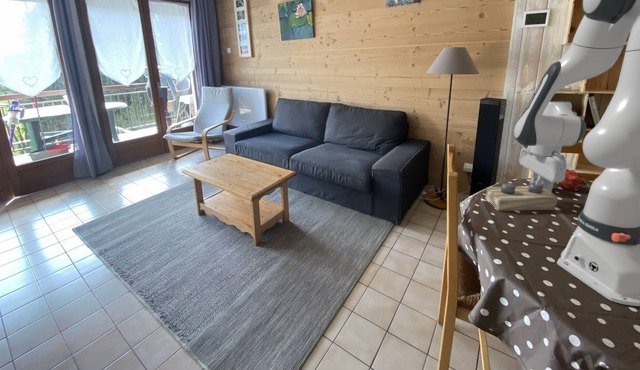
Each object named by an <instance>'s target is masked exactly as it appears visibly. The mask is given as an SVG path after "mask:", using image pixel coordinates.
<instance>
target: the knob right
mask: <svg viewBox="0 0 640 370" xmlns="http://www.w3.org/2000/svg"><path fill="white" fill-rule="evenodd" d="M528 186H529V188H528V191H530V192H533V193H542V191H543V187H544V185H541V186H536V185H534V184H533V183H530V182H529V184H528Z"/></svg>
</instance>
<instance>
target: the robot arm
mask: <svg viewBox="0 0 640 370" xmlns="http://www.w3.org/2000/svg"><path fill="white" fill-rule="evenodd" d="M581 10H582V13H583V16H582V19H581V21H580V23H579V25H578V26H577V29H576V32H575V34H574V37H573V39H572V42H571V44H570V46H569V48H568V49H567V51H566V52H565V53H564V55H563V56H562V57H560V59H559V60H558V61H556V62H554V63H552V64H550V66H548V68H547V70H546V71H545V72H544V74H543V76H542V77H541V80H540V82H539V83H538V85H537V87H536V89H535V91H534V92H533V94H532V96H531V98H530V100H529V102H528V104H527V105H526V108H524V109H525V110H523V112H522V114H521V115H520V116H519V118H518V120H517V122H516V124H515V126H514V129H513V138H514V139H515V140H516V141H517V142H518V143H519V144H520V145H521V147H522V148H521V150H520V154H519V158H518V160H519V161H518V163H519V164H520V166H522V167H524V168H525V169H528V170H529V171H531V172H530V173H531V175H532V183H533V184H534V185H536V186H541V185H542V182H543V181H544V180H545V179H547V180H549V181H551V182H554V183H558V182H562V181H563V180H564V179H565V174H566V169H567V167H568V166H567V159H566V157H565V155H563V154H561V152H562V148H563V147H571V146H575V145H577V144H578V143H580V142H581V141H582V140H583V141H582V142H583V143H582V152H583V154H584V157H585V158H586V159H587V160H588V162H589V163H591V164H592V165H594V166H596V167H599V168H605V169H604V170H603V171H602V173H601V174H600V175H598V176H597V177H596V178H595V179H594V180H593V182H592V183H591V186H590V188H589V192H588V195H587V198H586V201H585V204H584V206H583V207H584V208H582V209H581V211H580V212H579V214H578V217H577V221H576V223H577V227H576V229H575V230H574V231H573V233H572V234H571V236H570V239H569V240H568V243H567V245H566V247H565V249H563V250H562V251H561V253H560V257H559V258H558V260H557V262H556V264H557V265H558V266H559V267H561V268H562V269H563V270H565V271H566V272H568V273H569V274H571V275H572V276H574V277H576V278H577V280H580V281H581V282H582V283H584V284H585V285H587V286H588V287H590V288H591V289H593V290H594V291H596V292H597V293H599V295H601V296H603V297H604V298H606V299H608V300H609V301H611V302H614V303H616V304H617V303H618V304H621V305H626V306H632V307H640V0H581ZM627 39H628V40H627ZM626 42H627V43H626ZM625 45H626V47H625ZM624 47H625V52H624V57H623V60H622V64H621V69H620V74H619V76H618V77H619V79H618V82H617V85H616V88H615V91H614V93H613V96H612V98H611V100H610V102H609V104H608V105H607V108H606V110H605V111H604V113H603V115H602V117H601V119H600V120H599V121H598V123H596V125H595V126H594V127H593V128H592V129H591V130H590V131H589V132H588V133H587V134H586V131H587V124H586V122H585V120H584V119H583V118H582V117H580V116H577V115H576V114H575V113H574V112H573V110H572V103H571V102H570V101H567V100H552V98H553V97H554V96H555V94H556V93H557V92H559V91H560V90H561V89H563V88H565V87H567V86H570V85H572V84H575V83H578V82H583V81H585V80H589V79H593V78H594V77H597V76H600V75H601V74H603V73H605V72H606V71H608V70H610V69H611V68H612V67H613V66H614V64H616V63H617V61H618V59H619V57H620V55H621V53H622V51H623V49H624ZM585 134H586V136H585ZM584 136H585V137H584ZM538 177H539V178H538Z"/></svg>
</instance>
